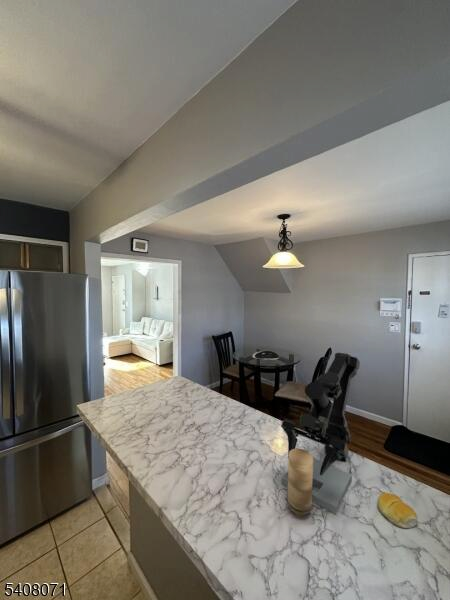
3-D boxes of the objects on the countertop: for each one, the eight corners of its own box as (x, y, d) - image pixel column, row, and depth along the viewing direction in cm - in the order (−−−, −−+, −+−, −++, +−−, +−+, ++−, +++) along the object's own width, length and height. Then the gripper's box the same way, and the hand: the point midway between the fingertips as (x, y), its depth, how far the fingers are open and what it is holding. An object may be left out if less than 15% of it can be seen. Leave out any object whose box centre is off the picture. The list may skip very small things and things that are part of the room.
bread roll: (392, 498, 73) (393, 485, 73) (423, 526, 64) (423, 511, 64) (369, 503, 71) (369, 489, 71) (397, 532, 62) (397, 516, 62)
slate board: (303, 458, 90) (303, 453, 90) (351, 480, 79) (351, 474, 79) (281, 484, 77) (282, 478, 77) (335, 514, 67) (336, 507, 67)
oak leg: (311, 504, 70) (313, 451, 70) (311, 523, 64) (313, 466, 64) (288, 497, 72) (289, 446, 72) (286, 516, 66) (287, 460, 66)
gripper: (284, 393, 80) (265, 442, 72) (347, 412, 68) (333, 473, 59) (294, 410, 86) (278, 456, 78) (353, 430, 74) (341, 487, 65)
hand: (304, 467), depth 70 cm, fingers open, 9 cm apart
